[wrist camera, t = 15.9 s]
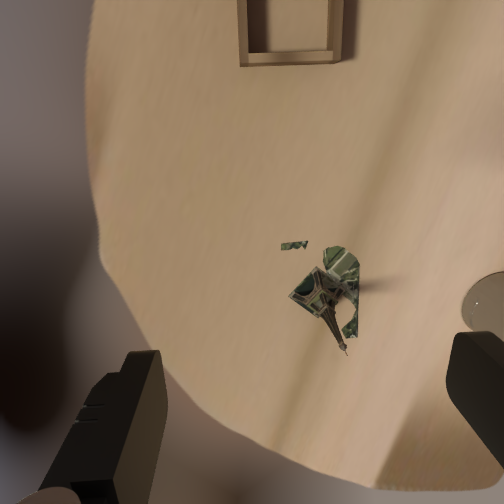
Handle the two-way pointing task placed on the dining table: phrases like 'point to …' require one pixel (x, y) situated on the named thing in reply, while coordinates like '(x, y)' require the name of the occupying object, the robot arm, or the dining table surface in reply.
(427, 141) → the dining table surface
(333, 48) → the walnut holder
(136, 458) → the robot arm
